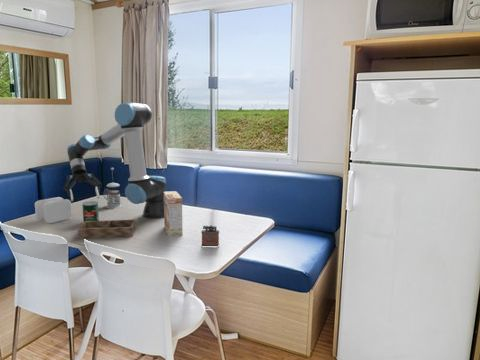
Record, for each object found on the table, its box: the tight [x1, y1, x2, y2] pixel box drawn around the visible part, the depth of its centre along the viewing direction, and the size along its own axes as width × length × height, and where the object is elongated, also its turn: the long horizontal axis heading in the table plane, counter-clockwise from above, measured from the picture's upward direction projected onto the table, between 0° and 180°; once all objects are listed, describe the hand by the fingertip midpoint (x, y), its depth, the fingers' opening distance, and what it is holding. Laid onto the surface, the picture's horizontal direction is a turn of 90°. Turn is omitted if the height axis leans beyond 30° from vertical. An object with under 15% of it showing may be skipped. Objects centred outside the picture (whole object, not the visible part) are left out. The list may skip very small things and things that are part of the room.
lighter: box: [201, 224, 220, 247], centre depth 164 cm, size 8×3×10 cm, turn 92°
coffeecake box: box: [163, 190, 183, 237], centre depth 182 cm, size 15×7×20 cm, turn 21°
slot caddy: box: [77, 219, 137, 239], centre depth 179 cm, size 25×13×4 cm, turn 100°
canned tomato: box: [81, 200, 100, 223], centre depth 194 cm, size 8×8×11 cm
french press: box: [103, 167, 123, 209], centre depth 224 cm, size 10×12×25 cm
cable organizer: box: [34, 196, 73, 224], centre depth 197 cm, size 15×11×12 cm
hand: (85, 198), depth 198 cm, fingers open, 13 cm apart
